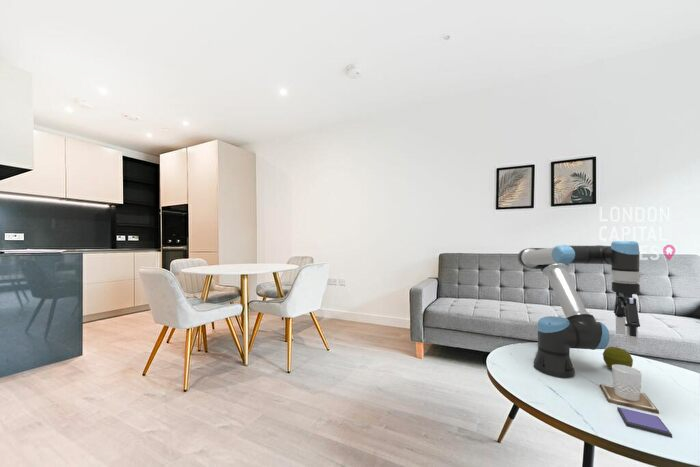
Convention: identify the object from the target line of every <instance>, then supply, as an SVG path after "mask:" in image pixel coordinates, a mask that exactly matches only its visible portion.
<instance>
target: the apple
mask: <svg viewBox="0 0 700 467" xmlns="http://www.w3.org/2000/svg"><path fill="white" fill-rule="evenodd" d="M602 357H603V358H602V359H603V361H604V363H605V365H606V367H608V368H609V369H610V370H612V365H625V366H629V367H632V368H633V365H634V364H633V362H634V360H633V357H632V355H631V354H630V353H629V352H628V351H627V350H626V349H623V348H620V347H617V346H616V347H615V346H609V347H608V346H607V347H606V348H604V350H603V352H602Z"/></svg>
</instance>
